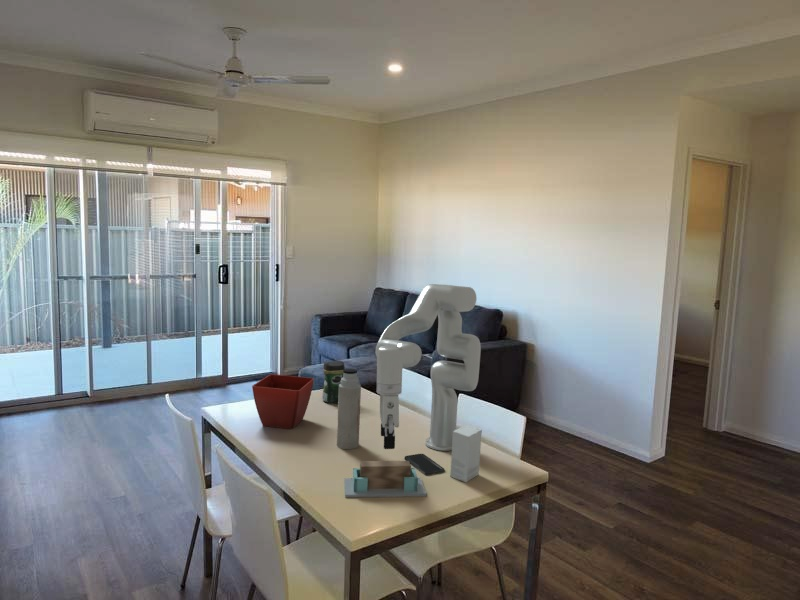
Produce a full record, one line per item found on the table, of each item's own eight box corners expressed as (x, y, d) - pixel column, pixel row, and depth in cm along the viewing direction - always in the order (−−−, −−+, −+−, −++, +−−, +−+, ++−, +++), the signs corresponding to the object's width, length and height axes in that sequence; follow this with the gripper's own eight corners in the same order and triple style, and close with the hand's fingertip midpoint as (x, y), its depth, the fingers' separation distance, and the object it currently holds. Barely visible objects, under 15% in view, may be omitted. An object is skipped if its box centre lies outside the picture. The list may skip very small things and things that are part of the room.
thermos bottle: (361, 442, 206) (364, 368, 202) (355, 450, 198) (358, 373, 195) (340, 440, 207) (343, 366, 204) (333, 447, 199) (336, 371, 196)
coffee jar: (339, 397, 261) (340, 358, 259) (346, 402, 254) (347, 362, 252) (319, 399, 256) (321, 359, 254) (326, 404, 249) (327, 363, 247)
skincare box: (463, 469, 186) (466, 424, 184) (480, 475, 182) (483, 429, 180) (449, 477, 179) (451, 430, 178) (466, 483, 175) (469, 435, 174)
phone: (422, 453, 196) (445, 469, 183) (422, 456, 196) (445, 473, 183) (403, 456, 193) (425, 473, 179) (402, 459, 193) (424, 476, 180)
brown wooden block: (408, 482, 172) (409, 460, 171) (409, 488, 168) (410, 466, 167) (359, 483, 170) (360, 461, 169) (360, 489, 166) (361, 466, 166)
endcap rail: (420, 479, 176) (421, 465, 176) (426, 496, 165) (427, 480, 165) (344, 480, 173) (344, 466, 173) (345, 497, 162) (345, 481, 162)
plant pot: (297, 433, 212) (299, 390, 210) (250, 428, 215) (251, 385, 213) (313, 417, 231) (314, 377, 229) (269, 413, 234) (270, 374, 232)
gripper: (405, 396, 158) (403, 453, 160) (398, 378, 175) (396, 431, 177) (379, 396, 157) (377, 454, 159) (374, 379, 174) (372, 431, 176)
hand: (387, 442), depth 168 cm, fingers open, 9 cm apart
